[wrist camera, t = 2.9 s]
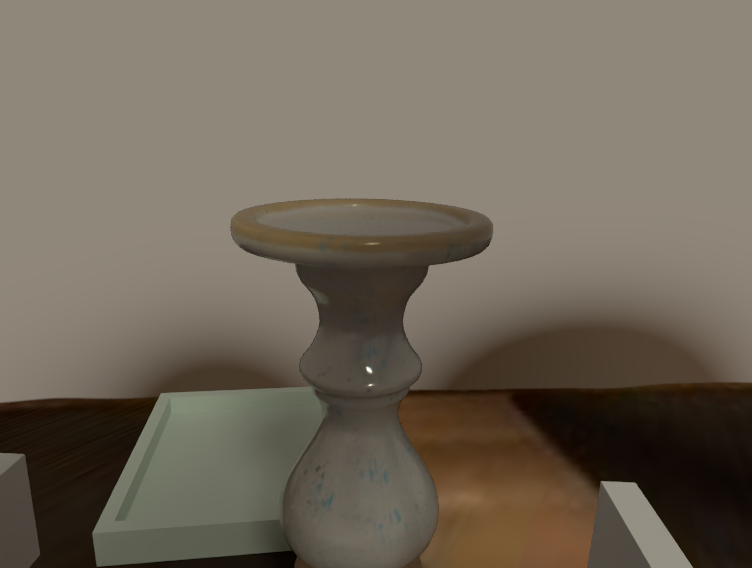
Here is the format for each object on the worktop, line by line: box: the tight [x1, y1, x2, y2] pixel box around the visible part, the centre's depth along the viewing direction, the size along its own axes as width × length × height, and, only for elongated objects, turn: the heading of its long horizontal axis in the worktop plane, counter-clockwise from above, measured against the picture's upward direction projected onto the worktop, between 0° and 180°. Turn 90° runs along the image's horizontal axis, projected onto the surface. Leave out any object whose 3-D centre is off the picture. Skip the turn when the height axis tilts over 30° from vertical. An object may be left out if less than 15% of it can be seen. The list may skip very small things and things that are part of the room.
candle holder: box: [231, 199, 493, 568], centre depth 26 cm, size 11×11×24 cm
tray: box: [92, 387, 322, 567], centre depth 46 cm, size 19×19×2 cm
